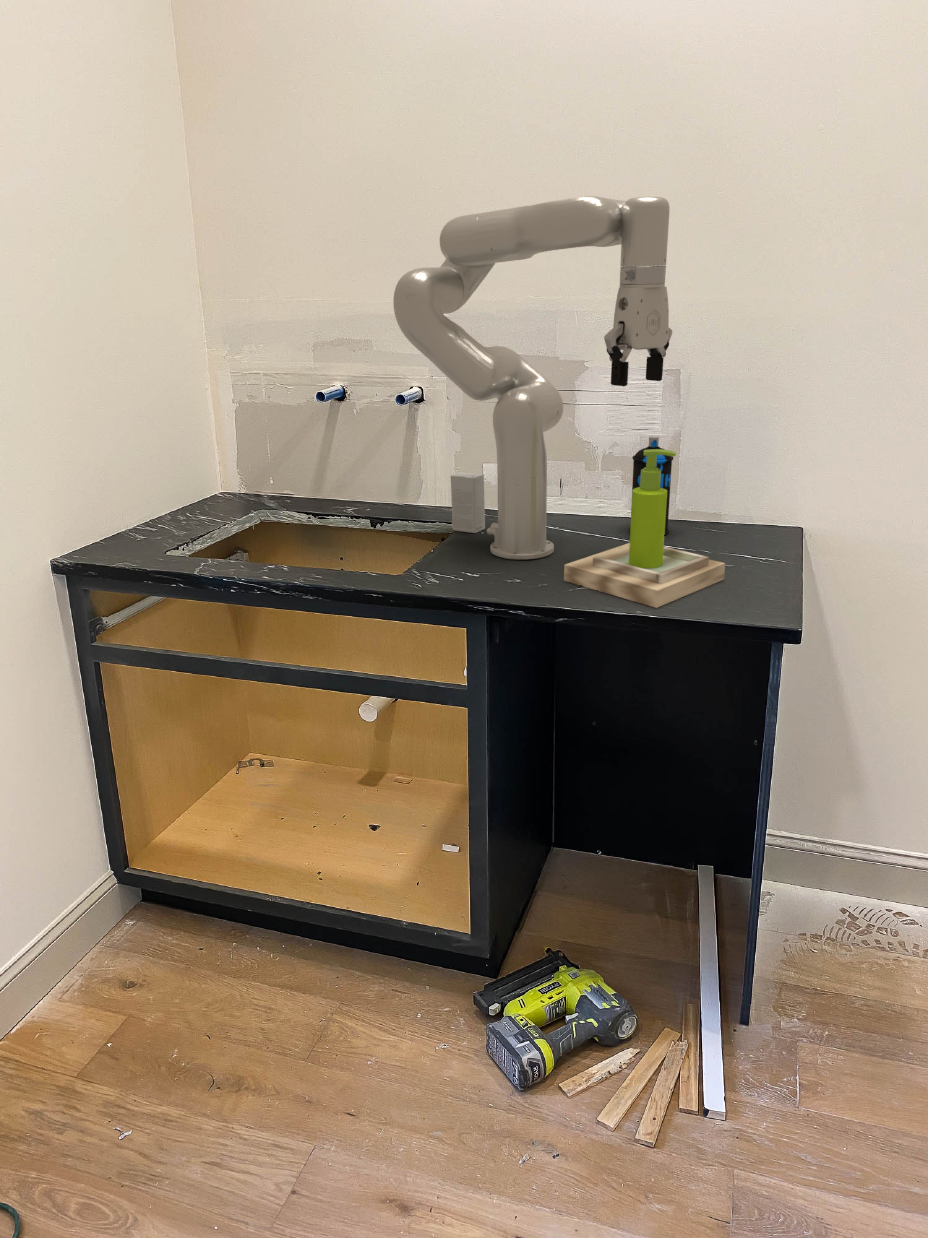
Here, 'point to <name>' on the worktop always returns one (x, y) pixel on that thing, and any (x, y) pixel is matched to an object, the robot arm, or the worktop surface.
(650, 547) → the soap dispenser
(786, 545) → the worktop surface
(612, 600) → the worktop surface
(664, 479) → the aerosol can
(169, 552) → the worktop surface
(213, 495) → the worktop surface
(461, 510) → the skincare box
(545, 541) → the robot arm
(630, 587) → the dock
